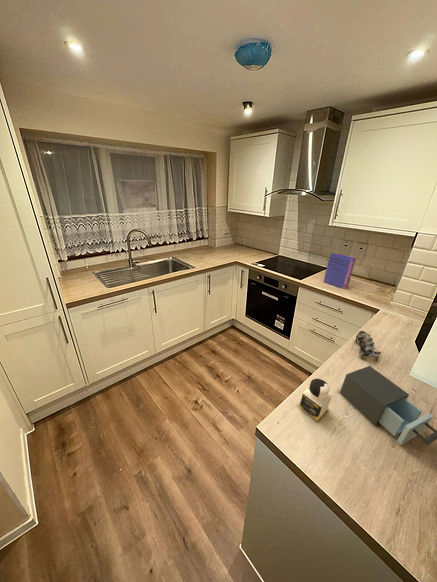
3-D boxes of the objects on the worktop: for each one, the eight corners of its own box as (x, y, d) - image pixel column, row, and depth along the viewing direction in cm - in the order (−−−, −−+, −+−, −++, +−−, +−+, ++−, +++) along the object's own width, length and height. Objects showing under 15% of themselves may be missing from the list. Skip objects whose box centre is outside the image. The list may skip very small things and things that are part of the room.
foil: (347, 349, 110) (359, 323, 115) (347, 358, 118) (359, 334, 123) (376, 360, 103) (387, 333, 108) (374, 369, 110) (385, 343, 115)
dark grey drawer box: (398, 413, 83) (409, 394, 79) (374, 425, 79) (384, 406, 75) (362, 383, 95) (369, 365, 91) (339, 392, 91) (346, 374, 87)
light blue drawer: (438, 445, 73) (450, 428, 69) (415, 459, 69) (426, 443, 65) (382, 399, 88) (390, 384, 84) (361, 409, 83) (368, 393, 80)
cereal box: (347, 287, 184) (356, 258, 174) (345, 289, 181) (353, 259, 171) (325, 280, 196) (332, 252, 185) (323, 282, 193) (330, 253, 182)
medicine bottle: (298, 406, 85) (305, 382, 79) (309, 396, 89) (316, 372, 84) (317, 421, 80) (325, 396, 74) (327, 409, 84) (335, 385, 79)
